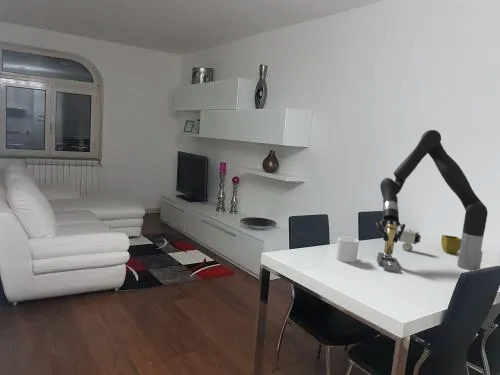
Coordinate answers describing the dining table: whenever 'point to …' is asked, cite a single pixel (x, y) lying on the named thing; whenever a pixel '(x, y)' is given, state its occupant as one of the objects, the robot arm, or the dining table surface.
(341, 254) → the mug
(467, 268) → the robot arm
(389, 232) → the brass pin
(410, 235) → the pneumatic valve
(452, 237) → the flower pot
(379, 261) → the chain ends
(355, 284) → the dining table surface
